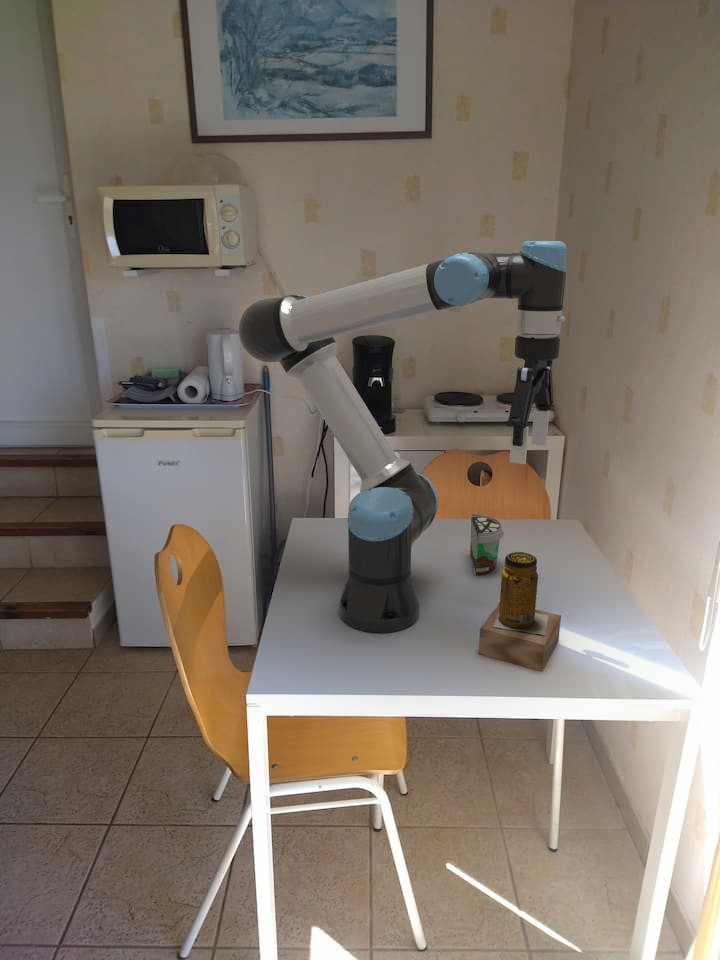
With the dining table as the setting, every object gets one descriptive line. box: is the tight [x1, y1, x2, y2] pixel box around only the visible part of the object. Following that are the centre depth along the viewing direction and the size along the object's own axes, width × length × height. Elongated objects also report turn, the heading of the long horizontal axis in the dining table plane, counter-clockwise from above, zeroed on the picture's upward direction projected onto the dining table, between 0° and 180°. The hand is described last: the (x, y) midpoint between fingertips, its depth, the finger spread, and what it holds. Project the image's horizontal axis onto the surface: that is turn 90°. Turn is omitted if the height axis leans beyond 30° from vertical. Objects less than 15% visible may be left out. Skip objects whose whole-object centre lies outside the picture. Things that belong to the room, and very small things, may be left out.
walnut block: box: [478, 602, 562, 672], centre depth 124 cm, size 11×11×5 cm
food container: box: [469, 513, 504, 576], centre depth 155 cm, size 12×6×10 cm, turn 179°
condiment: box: [493, 551, 549, 635], centre depth 121 cm, size 7×8×12 cm
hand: (528, 453), depth 130 cm, fingers open, 13 cm apart
